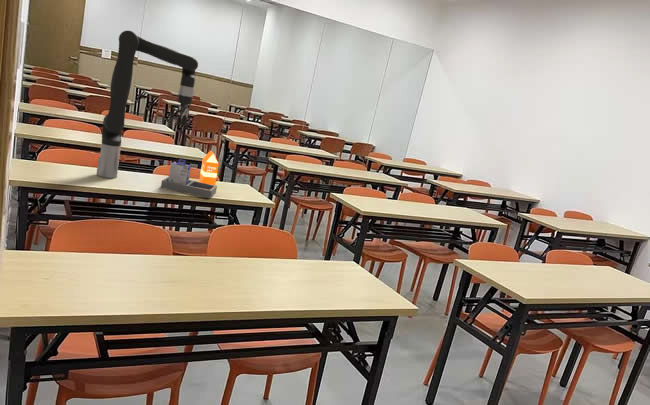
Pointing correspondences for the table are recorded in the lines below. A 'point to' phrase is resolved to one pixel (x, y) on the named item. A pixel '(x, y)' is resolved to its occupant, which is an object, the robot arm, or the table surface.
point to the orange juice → (209, 169)
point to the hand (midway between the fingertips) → (181, 124)
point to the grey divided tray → (191, 187)
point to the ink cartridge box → (179, 172)
